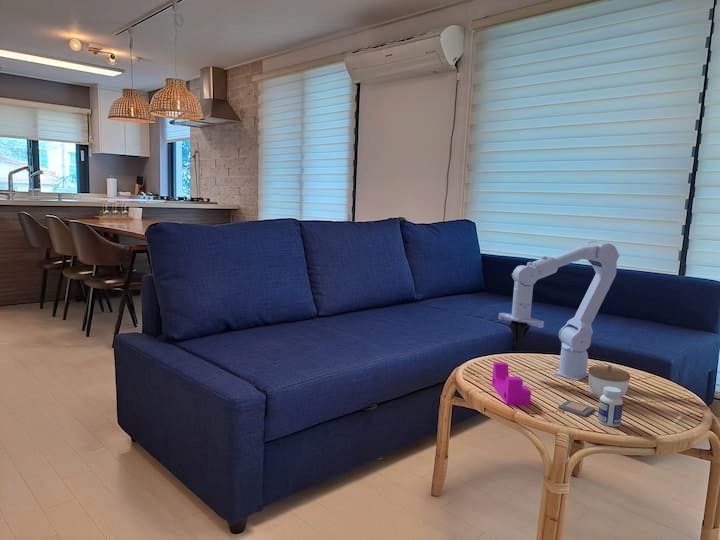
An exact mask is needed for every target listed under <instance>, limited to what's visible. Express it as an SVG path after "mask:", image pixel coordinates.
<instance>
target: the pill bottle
mask: <svg viewBox="0 0 720 540" xmlns="http://www.w3.org/2000/svg"><path fill="white" fill-rule="evenodd" d="M603 393H604V395H602V396H601V397H600V399H599V401H598V402H599V403H598V404H599V405H598V413H597V421H598V422H599V423H600V424H602V425H603V426H604V425H605V426H608V427H612V428H613V427H614V428H616V427H620V426H621V425H622V417H623V416H622V415H623V405H624V400H623V399H622V397H621V398H620V396H621V390H620V389H618V388H615V387H610V386H607V387H604V390H603Z"/></svg>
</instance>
